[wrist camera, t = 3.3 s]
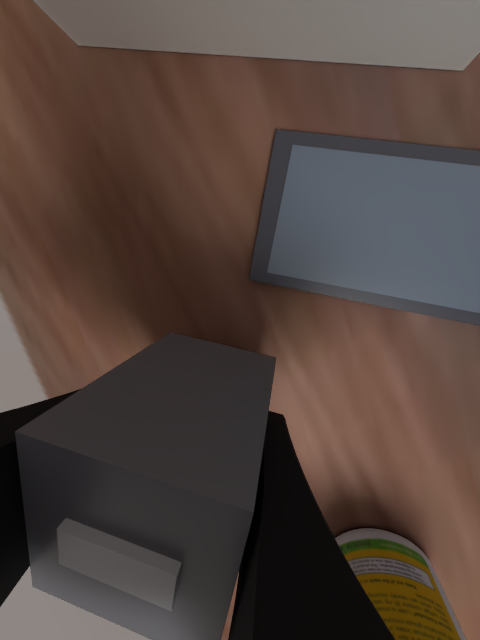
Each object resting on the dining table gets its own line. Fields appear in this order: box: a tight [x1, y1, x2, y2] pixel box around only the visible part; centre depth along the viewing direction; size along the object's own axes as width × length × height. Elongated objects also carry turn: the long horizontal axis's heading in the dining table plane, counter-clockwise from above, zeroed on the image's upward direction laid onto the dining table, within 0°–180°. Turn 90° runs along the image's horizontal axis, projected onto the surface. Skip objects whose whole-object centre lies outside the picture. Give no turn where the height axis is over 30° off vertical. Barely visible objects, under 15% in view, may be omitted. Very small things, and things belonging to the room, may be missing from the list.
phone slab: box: [249, 129, 480, 326], centre depth 9 cm, size 6×11×1 cm, turn 80°
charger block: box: [15, 332, 276, 640], centre depth 7 cm, size 4×4×6 cm
